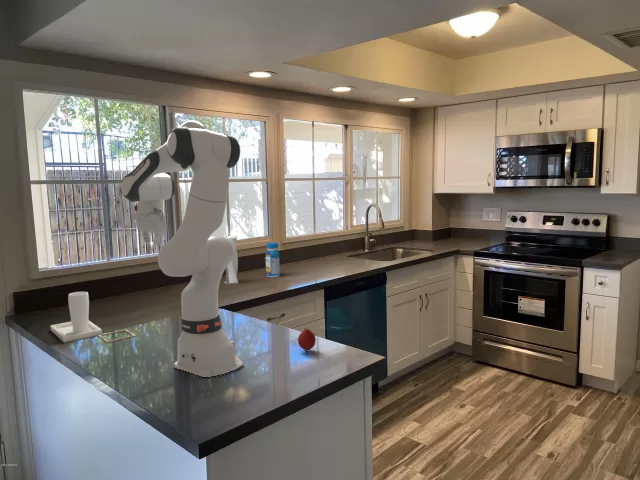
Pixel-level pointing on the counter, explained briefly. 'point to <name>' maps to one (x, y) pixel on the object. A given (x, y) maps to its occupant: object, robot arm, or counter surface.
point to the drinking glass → (79, 311)
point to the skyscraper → (232, 263)
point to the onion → (306, 339)
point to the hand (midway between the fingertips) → (151, 243)
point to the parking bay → (116, 339)
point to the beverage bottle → (272, 260)
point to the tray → (67, 335)
